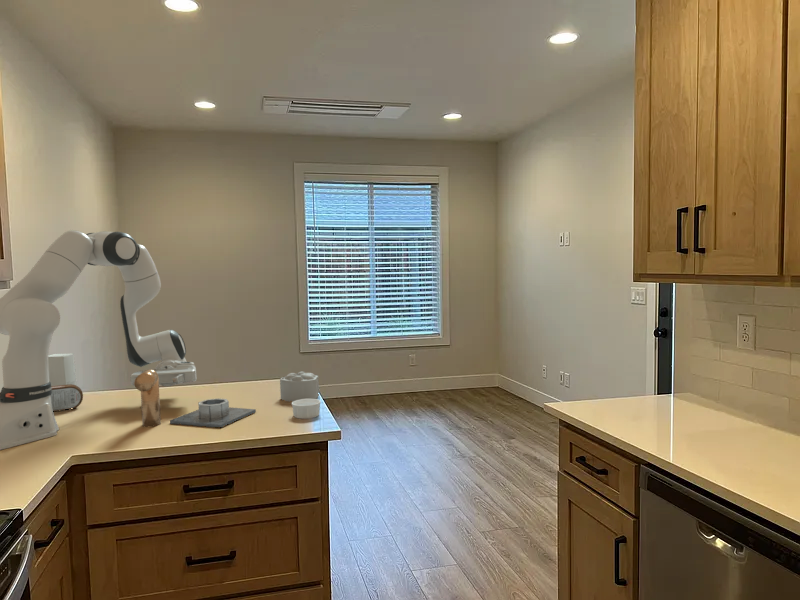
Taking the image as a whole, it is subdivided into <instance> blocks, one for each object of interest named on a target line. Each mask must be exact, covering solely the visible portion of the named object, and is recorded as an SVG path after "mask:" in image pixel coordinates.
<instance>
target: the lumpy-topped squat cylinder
mask: <svg viewBox="0 0 800 600" xmlns="http://www.w3.org/2000/svg"><path fill="white" fill-rule="evenodd" d="M319 384H320V383H319V375H316V374H314V373H312V372H306V371H299V372H297V373H295V372H290V373H287V375H286V376H282V377H280V379H279V386H280V387H279V388H280V389H279V391H280V400H281V399H282V400H281V401H283V400H285V401H284V402H290V401H292V402H293V401H296V400H300V399H319V397H320V391H319V390H320V385H319ZM318 393H319V394H318ZM318 396H319V397H318ZM292 402H291V403H292Z"/></svg>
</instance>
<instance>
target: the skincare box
mask: <svg viewBox="0 0 800 600" xmlns="http://www.w3.org/2000/svg"><path fill="white" fill-rule="evenodd" d="M75 362H76V361H75V353H53V354H50V355H49V354H48V367H49V381H50V382H51V386H58V385H68V384H72V385H76V386H78V385H77V382H78V381H77V374H76V364H75Z"/></svg>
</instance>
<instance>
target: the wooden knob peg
mask: <svg viewBox="0 0 800 600" xmlns="http://www.w3.org/2000/svg"><path fill="white" fill-rule="evenodd" d="M154 370H155V369H146V371H144V370H143V371H144V372H143V373H141V374H140V375H139V376H137V377H136V379H135V381H134V385H133V386H134V387H135V389H137V391H140V397H141V398H140V399H141V400H140V401H141V418H142V419H141V421H142V423H141V424H142V427H144V426H145V427H146V428H149V427H148V426H152V427H156V426H160V425H161V424H162V421H161V404H160V403H161V402H160V401H161V400H160V384H159V378H158V374H157V373H156V372H155V371H154Z"/></svg>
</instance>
